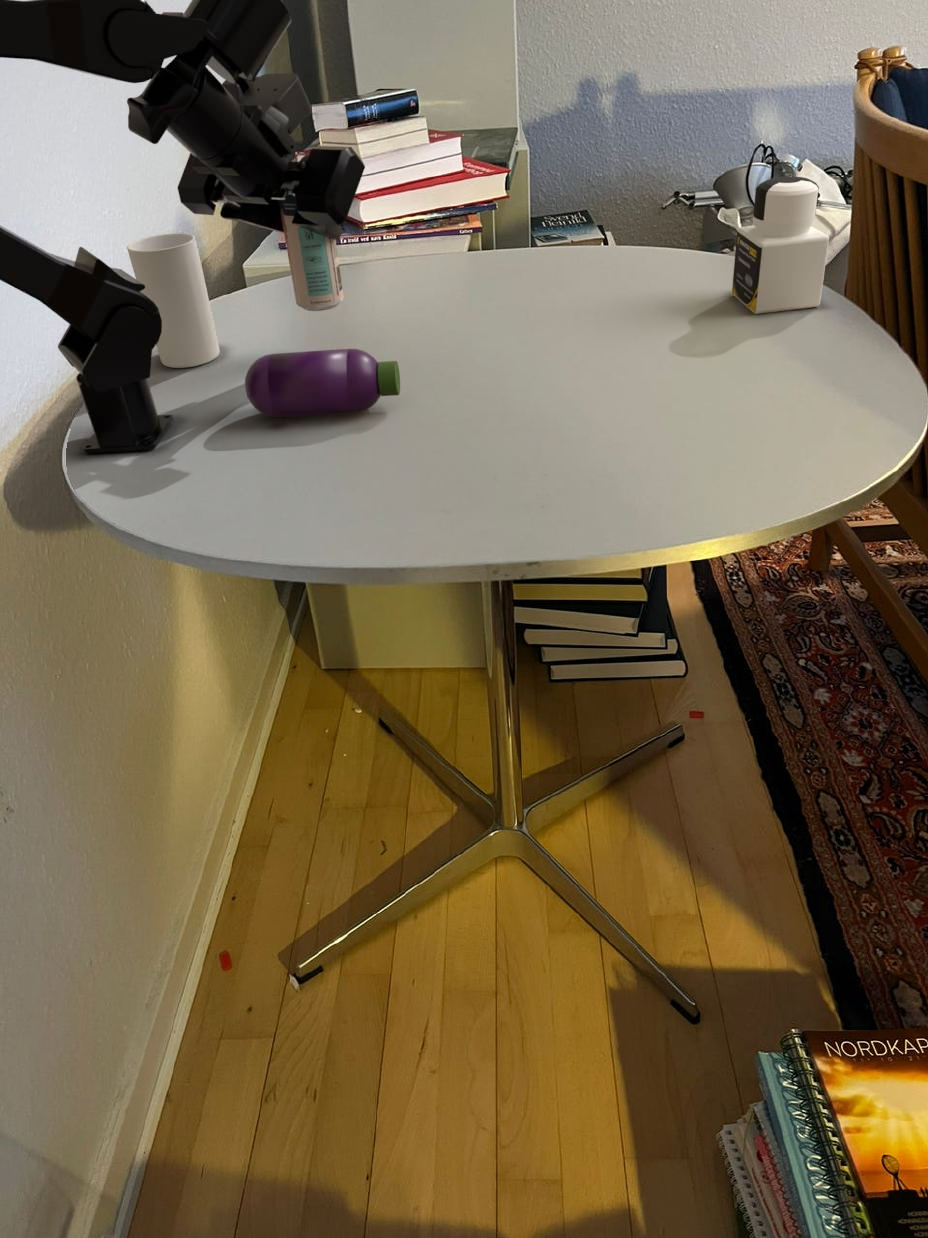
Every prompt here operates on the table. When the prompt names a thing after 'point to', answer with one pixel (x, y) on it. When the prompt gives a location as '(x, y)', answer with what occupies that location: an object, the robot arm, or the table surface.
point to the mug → (177, 297)
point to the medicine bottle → (781, 249)
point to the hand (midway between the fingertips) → (319, 233)
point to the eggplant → (319, 382)
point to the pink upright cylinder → (311, 263)
